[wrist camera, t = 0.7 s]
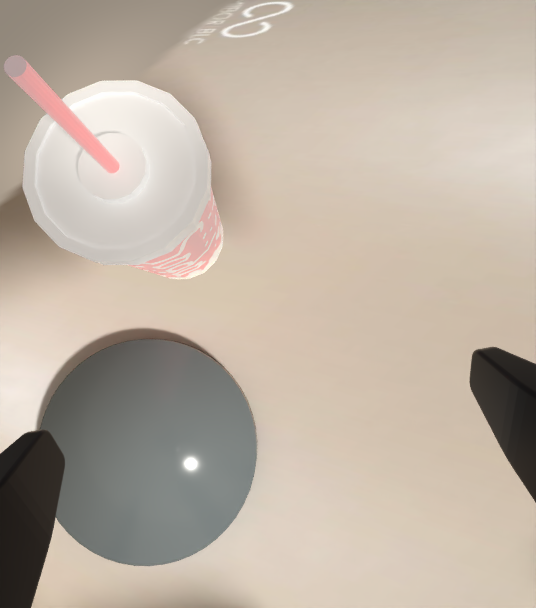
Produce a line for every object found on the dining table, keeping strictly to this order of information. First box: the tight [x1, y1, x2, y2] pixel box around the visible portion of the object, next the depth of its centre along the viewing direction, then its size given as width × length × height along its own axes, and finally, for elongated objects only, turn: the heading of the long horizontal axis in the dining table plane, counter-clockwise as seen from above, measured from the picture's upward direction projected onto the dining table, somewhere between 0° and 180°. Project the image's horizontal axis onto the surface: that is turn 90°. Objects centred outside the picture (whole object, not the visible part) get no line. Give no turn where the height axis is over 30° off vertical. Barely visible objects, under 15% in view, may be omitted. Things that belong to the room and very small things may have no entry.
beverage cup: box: [4, 55, 223, 279], centre depth 15 cm, size 6×6×14 cm
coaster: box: [40, 339, 257, 566], centre depth 21 cm, size 11×11×1 cm
